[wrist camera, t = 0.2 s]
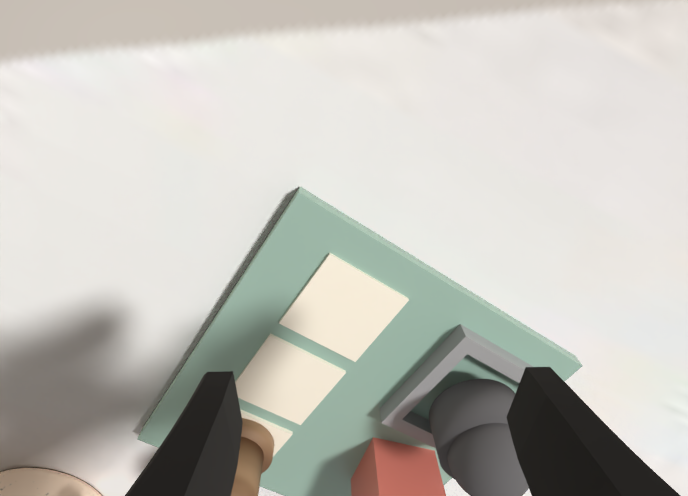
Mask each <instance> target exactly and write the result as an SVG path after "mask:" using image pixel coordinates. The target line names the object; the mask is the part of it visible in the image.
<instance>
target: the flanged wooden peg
mask: <svg viewBox="0 0 688 496" xmlns="http://www.w3.org/2000/svg"><path fill="white" fill-rule="evenodd" d="M242 421H243V424H242V433H241V441H240V450H239V457H238V465H237V470H236V474H235V479H234V483H233V488H232V492H231V496H258V492H259V485H260V479H261V474H262V473H263V472H265V471H266V470H267V469H268V468H269V466H270V465H271V463H272V459H273V452H274V439H273V437H272V435H271V433H270V432H269V431H268V430H267V429H266V428H265V427H264V426H263V425H261V424H259V423H257V422H255V421H252V420H249V419H245V418H242Z"/></svg>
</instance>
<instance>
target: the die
mask: <svg viewBox="0 0 688 496" xmlns="http://www.w3.org/2000/svg"><path fill="white" fill-rule="evenodd" d="M351 496H446V494H445V490H444V486H443V482H442V478H441V474H440V470H439V466H438V462H437V458H436V454H435V451H434V450H430V449H425V448H420V447H416V446H411V445H407V444H402V443H397V442H393V441H388V440H384V439H379V438H374V437H373V438H372V440H371V442H370V444H369V446H368V448H367V450H366V452H365V453H364V455H363V457H362V459H361V461H360V463H359V465H358V467H357V469H356V470H355V472H354V474H353V476H352V478H351Z"/></svg>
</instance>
